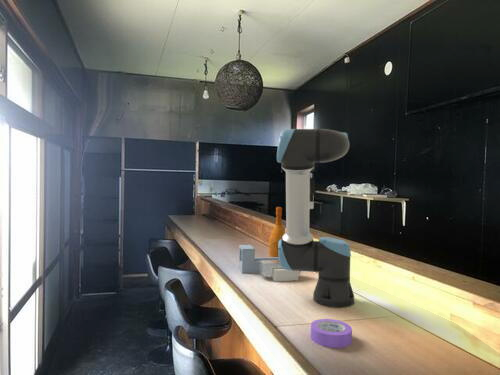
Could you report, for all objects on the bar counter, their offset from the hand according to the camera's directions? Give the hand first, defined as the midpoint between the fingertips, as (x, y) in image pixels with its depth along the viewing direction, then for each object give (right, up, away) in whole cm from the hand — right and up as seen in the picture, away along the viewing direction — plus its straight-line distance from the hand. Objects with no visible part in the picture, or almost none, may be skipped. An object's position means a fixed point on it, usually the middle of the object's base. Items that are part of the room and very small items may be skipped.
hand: (305, 207), depth 180 cm
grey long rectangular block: (-13, -30, -8) cm, 34 cm away
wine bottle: (-12, -31, +22) cm, 40 cm away
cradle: (-12, -32, -8) cm, 35 cm away
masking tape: (-3, -35, -72) cm, 80 cm away
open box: (-21, -31, +5) cm, 38 cm away
